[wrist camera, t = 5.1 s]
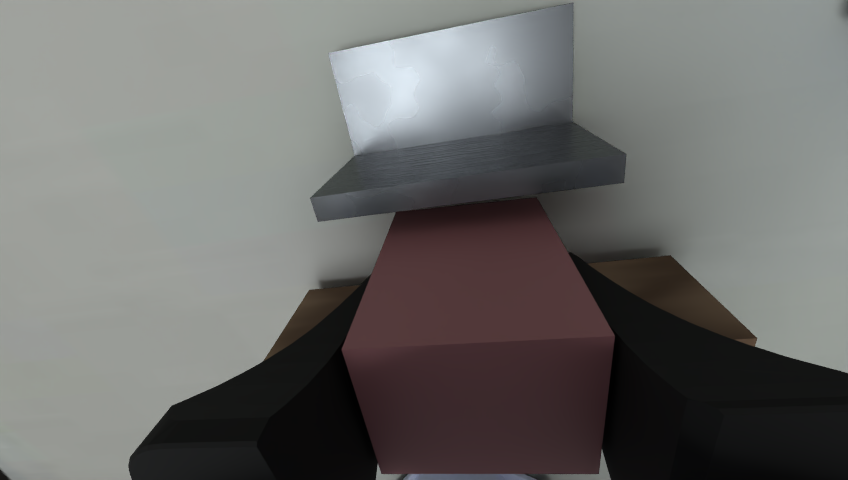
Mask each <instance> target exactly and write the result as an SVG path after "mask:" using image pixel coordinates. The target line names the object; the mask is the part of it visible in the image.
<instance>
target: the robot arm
mask: <svg viewBox="0 0 848 480" xmlns="http://www.w3.org/2000/svg"><path fill="white" fill-rule="evenodd" d="M568 254H569V255H570V257H571V259H572V261H573V263H574V264H575V266H576V268H577V270H578V271H579V273H580V275H581V277H582V279H583V280H584V282H585V284H586V286H587V287H588V289H589V291H590V293H591V294H592V296H593V298H594V300H595V302H596V303H597V305H598V307H599V309H600V310H601V312H602V314H603V316H604V317H605V319H606V321H607V323H608V325H609V326H610V328H611V330H612V332H613V333H614V335H615V340H614V349H613V357H612V366H611V374H610V383H609V391H608V400H607V408H606V417H605V425H604V434H603V442H602V450H603V454H604V457H605V461H606V464H607V467H608V471H609V474H610V478H611V480H848V373H845V372H841V371H838V370H834V369H830V368H826V367H823V366H819V365H815V364H811V363H808V362H804V361H800V360H796V359H793V358H789V357H786V356H782V355H779V354H776V353H773V352H770V351H767V350H764V349H760V348H757V347H754V346H751V345H748V344H745V343H742V342H739V341H737V340H734V339H731V338H728V337H725V336H723V335H720V334H718V333H715V332H713V331H710V330H708V329H705V328H702V327H700V326H697V325H695V324H693V323H690V322H688V321H686V320H683V319H681V318H679V317H677V316H675V315H673V314H671V313H669V312H667V311H665V310H662V309H660V308H658V307H656V306H654V305H652V304H651V303H649V302H647V301H645V300H643V299H642V298H640V297H638V296H636V295H635V294H633V293H631V292H629V291H628V290H626V289H624V288H623V287H621V286H620V285H618V284H616V283H615V282H613V281H612V280H610V279H609V278H607V277H606V276H604V275H603V274H601V273H600V272H598V271H597V270H596V269H594V268H593V267H591V266H590V265H589V264H587V263H586V262H584V261H583V260H582V259H580V258H579V257H577V256H576V255H574V254H573V253H571V252H569V253H568ZM370 277H371V275H370V276H369V277H368V278H367V279H366V280H365V281H364V282H363V283H362V284H361V285H360V286H359V287H358V288H357V289H356V290H355V291H354V292H353V293H352V294H351V295H350V296H348V297H347V298H346V299H345V300H344V301H343V302H342V303H341V304H340V305H339V306H338V307H337V308H336V309H334V310H333V311H332V312H331V313H330V314H329V315H328V316H326V317H325V318H324V319H323V320H322V321H321V322H319V323H318V324H317V325H316V326H315V327H313V328H312V329H311V330H309V331H308V332H307V333H306V334H304V335H303V336H301V337H300V338H299V339H297V340H296V341H294V342H293V343H292V344H290V345H289V346H287V347H286V348H284V349H282V350H281V351H279V352H278V353H276V354H274V355H273V356H271V357H270V358H268V359H266V360H265V361H263V362H262V363H260V364H258V365H256V366H255V367H253V368H251V369H249V370H247V371H245V372H244V373H242V374H240V375H238V376H236V377H234V378H232V379H230V380H228V381H226V382H224V383H222V384H220V385H218V386H216V387H214V388H212V389H209V390H207V391H205V392H202V393H200V394H198V395H196V396H193V397H191V398H189V399H187V400H184V401H182V402H180V403H177V404H175V405H172V406H171V407H170V409H169V410H168V411H167V412H166V413H165V415H164V416H163V417H162V418H161V420H160V421H159V422H158V423H157V425H156V426H155V427H154V428H153V429H152V431H151V432H150V433H149V434H148V436H147V437H146V438H145V439H144V441H143V442H142V443H141V444H140V445H139V447H138V448H137V449H136V450H135V452H134V453H133V454H132V455H131V457H130V460H129V465H128V466H129V472H130V475H131V478H132V480H376V472H377V464H378V461H377V458H376V455H375V452H374V449H373V446H372V443H371V439H370V436H369V433H368V430H367V427H366V424H365V421H364V418H363V415H362V412H361V408H360V405H359V402H358V399H357V396H356V393H355V390H354V387H353V384H352V381H351V377H350V374H349V371H348V368H347V365H346V362H345V359H344V356H343V353H342V347H343V345H344V342H345V340H346V337H347V335H348V332H349V330H350V327H351V325H352V322H353V320H354V317H355V315H356V312H357V310H358V307H359V305H360V302H361V299H362V297H363V294H364V292H365V289H366V287H367V284H368V282H369V279H370ZM403 480H537V479H534V478H532V477H530V476H527V475H525V474H408V475H407V476H406V477H405V478H404V479H403Z"/></svg>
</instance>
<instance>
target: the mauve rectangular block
mask: <svg viewBox="0 0 848 480" xmlns="http://www.w3.org/2000/svg"><path fill="white" fill-rule="evenodd" d="M614 340H615V335H614V333H613V332H612V330H611V328H610V326H609V325H608V323H607V321H606V319H605V317H604V316H603V314H602V312H601V310H600V309H599V307H598V305H597V303H596V302H595V300H594V298H593V296H592V294H591V293H590V291H589V289H588V287H587V286H586V284H585V282H584V280H583V279H582V277H581V275H580V273H579V271H578V270H577V268H576V266H575V264H574V263H573V261H572V259H571V257H570V255H569V254H568V252H567V250H566V248H565V247H564V245H563V243H562V241H561V240H560V238H559V236H558V234H557V232H556V231H555V229H554V227H553V225H552V224H551V222H550V220H549V218H548V217H547V215H546V213H545V211H544V209H543V208H542V206H541V204H540V202H539V201H538V199H537V197H535V198H525V199H515V200H506V201H496V202H486V203H477V204H467V205H457V206H448V207H438V208H428V209H419V210H409V211H399V212H396V214H395V216H394V219H393V222H392V224H391V227H390V229H389V232H388V234H387V237H386V239H385V242H384V244H383V247H382V249H381V252H380V254H379V257H378V259H377V262H376V264H375V267H374V269H373V272H372V274H371V277H370V279H369V282H368V284H367V287H366V289H365V292H364V294H363V297H362V299H361V302H360V305H359V307H358V310H357V312H356V315H355V317H354V320H353V322H352V325H351V327H350V330H349V332H348V335H347V337H346V340H345V342H344V345H343V347H342V353H343V356H344V359H345V362H346V365H347V368H348V371H349V374H350V377H351V381H352V384H353V387H354V390H355V393H356V396H357V399H358V402H359V405H360V408H361V412H362V415H363V418H364V421H365V424H366V427H367V430H368V433H369V436H370V439H371V443H372V446H373V449H374V452H375V455H376V458H377V461H378V464H379V467H380V471H381V474H599V468H600V459H601V451H602V442H603V434H604V425H605V417H606V408H607V400H608V391H609V383H610V374H611V366H612V357H613V349H614Z"/></svg>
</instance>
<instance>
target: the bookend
mask: <svg viewBox="0 0 848 480" xmlns="http://www.w3.org/2000/svg"><path fill="white" fill-rule="evenodd" d="M328 54H329V58H330V62H331V65H332V69H333V73H334V77H335V81H336V85H337V89H338V93H339V96H340V100H341V104H342V108H343V112H344V116H345V120H346V124H347V127H348V131H349V135H350V139H351V143H352V147H353V151H354V155H355V156H354V157H353V158H352V159H351V160H350V161H349V162H348V163H346V164H345V165H344V166H343V167H342V168H341V169H340V170H339V171H338V172H337V173H336V174H335V175H334V176H333V177H332V178H331V179H330V180H329V181H327V182H326V183H325V184H324V185H323V186H322V187H321V188H320V189H319V190H318V191H317V192H316V193H315V194H314V195H313V196H312V197H311V198H310V199H311V202H312V205H313V208H314V211H315V214H316V217H317V220H318V222H319V221H327V220H335V219H343V218H351V217H359V216H367V215H374V214H382V213H390V212H398V211H406V210H414V209H422V208H429V207H437V206H445V205H453V204H461V203H469V202H476V201H484V200H492V199H500V198H508V197H516V196H524V195H531V194H539V193H547V192H555V191H563V190H571V189H578V188H586V187H594V186H602V185H610V184H618V183H624V176H625V163H626V154H625V153H624V152H622V151H620V150H619V149H617V148H615V147H614V146H612V145H610V144H609V143H607V142H605V141H604V140H602V139H600V138H599V137H597V136H595V135H594V134H592V133H590V132H589V131H587V130H585V129H584V128H582V127H580V126H579V125H577V124H575V123H574V122H572V100H573V3H569V4H564V5H559V6H554V7H549V8H545V9H540V10H535V11H530V12H525V13H520V14H515V15H511V16H506V17H501V18H496V19H491V20H486V21H481V22H477V23H472V24H467V25H462V26H457V27H452V28H447V29H443V30H438V31H433V32H428V33H423V34H418V35H413V36H409V37H404V38H399V39H394V40H389V41H384V42H379V43H375V44H370V45H365V46H360V47H355V48H350V49H346V50H341V51H336V52H331V53H328Z"/></svg>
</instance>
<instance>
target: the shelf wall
mask: <svg viewBox="0 0 848 480" xmlns="http://www.w3.org/2000/svg"><path fill="white" fill-rule="evenodd" d="M587 264H589V265H590V266H591V267H593V268H594V269H596V270H597V271H598V272H600V273H601V274H603V275H604V276H606V277H607V278H609V279H610V280H612V281H613V282H615V283H616V284H618V285H620V286H621V287H623V288H624V289H626V290H628V291H629V292H631V293H633V294H635V295H636V296H638V297H640V298H642V299H643V300H645V301H647V302H649V303H651V304H652V305H654V306H656V307H658V308H660V309H662V310H665V311H667V312H669V313H671V314H673V315H675V316H677V317H679V318H681V319H683V320H686V321H688V322H690V323H693V324H695V325H697V326H700V327H702V328H705V329H708V330H710V331H713V332H715V333H718V334H720V335H723V336H725V337H728V338H731V339H734V340H737V341H739V342H742V343H745V344H748V345H751V346H754V347H755V344H756V341H757V338H756V337H755V336H754V335H753V334H752V333H751V332H750V331H749V330H748V329H747V328H746V327H745V326H744V325H743V324H742V323H741V322H740V321H739V320H738V319H737V318H735V317H734V316H733V315H732V314H731V313H730V312H729V311H728V310H727V309H726V308H725V307H724V306H723V305H722V304H721V303H720V302H719V301H718V300H717V299H716V298H715V297H713V296H712V295H711V294H710V293H709V292H708V291H707V290H706V289H705V288H704V287H703V286H702V285H701V284H700V283H699V282H698V281H697V280H696V279H695V278H694V277H693V276H691V275H690V274H689V273H688V272H687V271H686V270H685V269H684V268H683V267H682V266H681V265H680V264H679V263H678V262H677V261H676V260H675V259H674V258H673V257H672V256H671V255H670V256H660V257H649V258H639V259H628V260H618V261H607V262H597V263H587ZM359 286H360V285H356V286H346V287H335V288H325V289H315V290H309V291H308V293H307V294H306V296H305V298H304V299H303V301H302V302H301V304H300V305H299V307H298V308H297V310H296V311H295V313H294V315H293V316H292V318H291V319H290V321H289V322H288V324H287V325H286V327H285V328H284V330H283V332H282V333H281V335H280V336H279V338H278V339H277V341H276V342H275V344H274V346H273V347H272V349H271V350H270V352H269V353H268V355H267V356H266V358H265V359H264V361H265V360H266V359H268V358H270V357H271V356H273V355H274V354H276V353H278V352H279V351H281V350H282V349H284V348H286V347H287V346H289V345H290V344H292V343H293V342H294V341H296V340H297V339H299V338H300V337H301V336H303V335H304V334H306V333H307V332H308V331H309V330H311V329H312V328H313V327H315V326H316V325H317V324H318V323H319V322H321V321H322V320H323V319H324V318H325V317H326V316H328V315H329V314H330V313H331V312H332V311H333V310H334V309H336V308H337V307H338V306H339V305H340V304H341V303H342V302H343V301H344V300H345V299H346V298H347V297H348V296H350V295H351V294H352V293H353V292H354V291H355V290H356V289H357V288H358V287H359Z"/></svg>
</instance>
